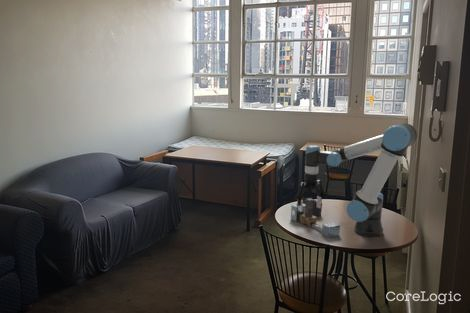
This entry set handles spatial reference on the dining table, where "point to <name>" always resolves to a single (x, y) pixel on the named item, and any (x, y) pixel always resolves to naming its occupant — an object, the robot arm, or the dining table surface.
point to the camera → (314, 207)
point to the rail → (326, 229)
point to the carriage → (308, 213)
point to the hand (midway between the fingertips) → (309, 209)
